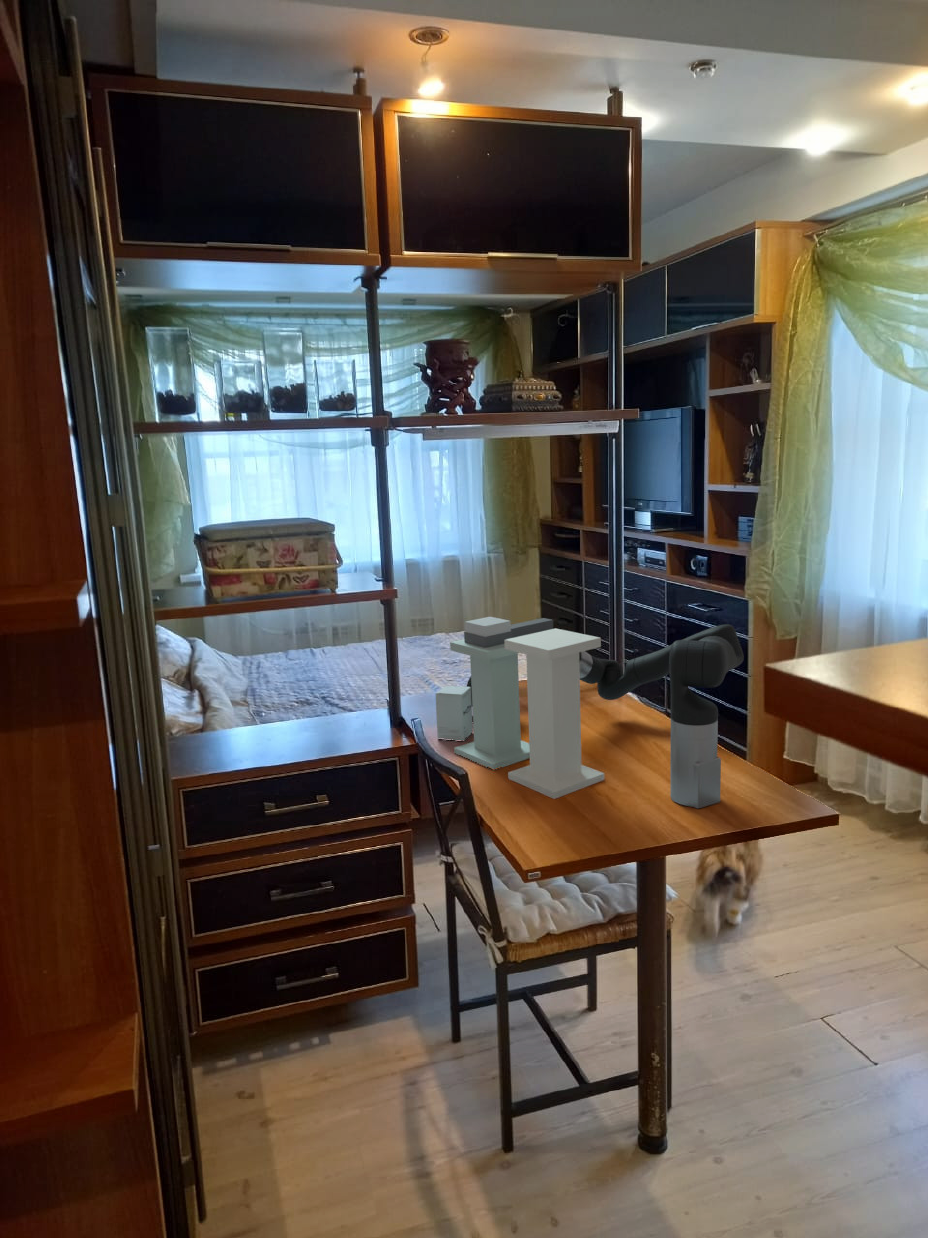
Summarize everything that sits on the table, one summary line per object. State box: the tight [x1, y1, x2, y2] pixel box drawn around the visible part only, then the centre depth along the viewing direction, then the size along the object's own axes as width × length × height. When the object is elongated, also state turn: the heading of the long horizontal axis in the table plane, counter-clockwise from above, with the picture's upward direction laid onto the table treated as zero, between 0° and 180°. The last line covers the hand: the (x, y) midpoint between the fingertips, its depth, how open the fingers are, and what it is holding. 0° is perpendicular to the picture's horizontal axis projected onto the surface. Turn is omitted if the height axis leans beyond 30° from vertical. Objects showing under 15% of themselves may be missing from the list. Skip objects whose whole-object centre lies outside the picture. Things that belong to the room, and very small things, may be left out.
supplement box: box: [434, 685, 474, 741], centre depth 217 cm, size 7×7×13 cm
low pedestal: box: [449, 638, 530, 770], centre depth 202 cm, size 15×15×28 cm
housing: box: [463, 616, 554, 648], centre depth 202 cm, size 23×8×5 cm, turn 127°
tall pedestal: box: [504, 627, 605, 800], centre depth 184 cm, size 15×15×32 cm
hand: (528, 638), depth 206 cm, fingers open, 8 cm apart
